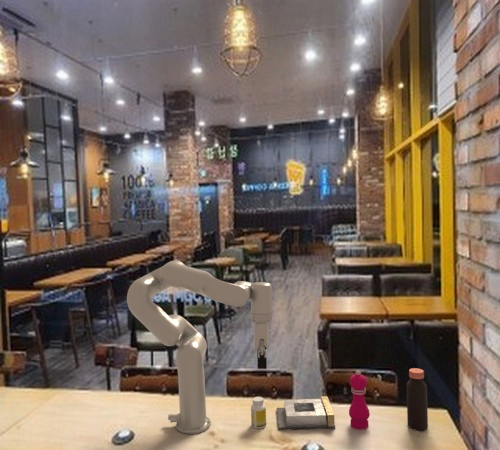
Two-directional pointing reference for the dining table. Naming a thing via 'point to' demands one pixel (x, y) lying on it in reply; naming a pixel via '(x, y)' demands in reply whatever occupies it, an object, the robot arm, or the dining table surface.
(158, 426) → the dining table surface
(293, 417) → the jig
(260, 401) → the supplement bottle
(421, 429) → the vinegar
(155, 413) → the dining table surface
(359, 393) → the pepper mill
